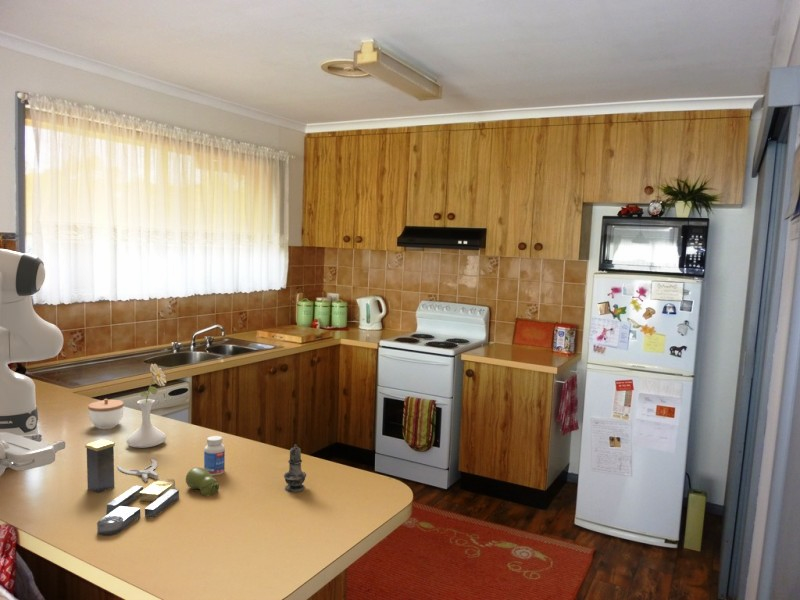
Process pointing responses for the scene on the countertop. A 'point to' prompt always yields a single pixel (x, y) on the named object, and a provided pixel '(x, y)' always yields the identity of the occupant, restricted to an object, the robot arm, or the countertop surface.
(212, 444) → the pill bottle
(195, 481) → the pear
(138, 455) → the countertop surface
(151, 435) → the flower in vase
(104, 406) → the lidded jar
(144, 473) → the pliers
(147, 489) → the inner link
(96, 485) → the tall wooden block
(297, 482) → the salt shaker
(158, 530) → the countertop surface
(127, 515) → the grey metal bars
